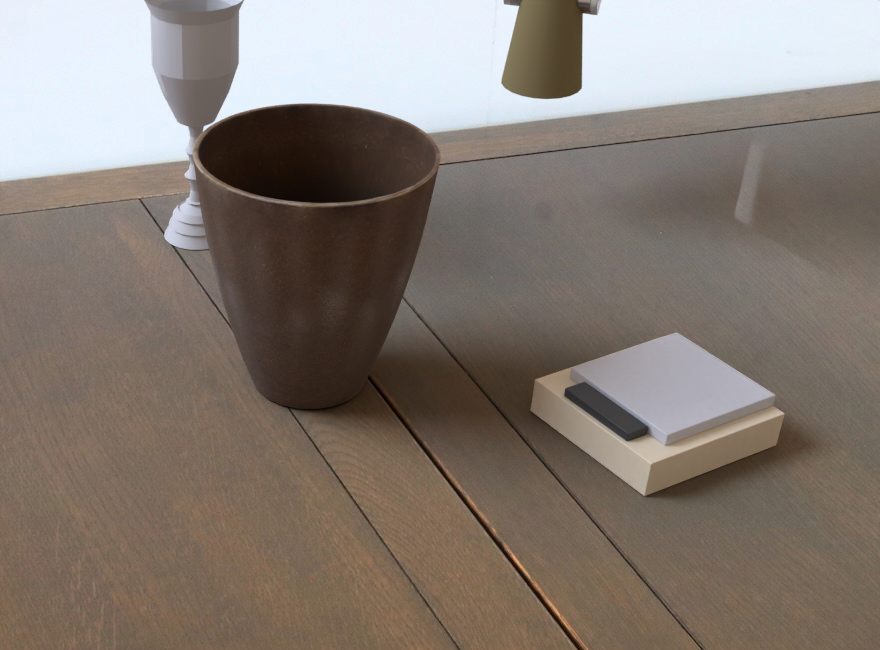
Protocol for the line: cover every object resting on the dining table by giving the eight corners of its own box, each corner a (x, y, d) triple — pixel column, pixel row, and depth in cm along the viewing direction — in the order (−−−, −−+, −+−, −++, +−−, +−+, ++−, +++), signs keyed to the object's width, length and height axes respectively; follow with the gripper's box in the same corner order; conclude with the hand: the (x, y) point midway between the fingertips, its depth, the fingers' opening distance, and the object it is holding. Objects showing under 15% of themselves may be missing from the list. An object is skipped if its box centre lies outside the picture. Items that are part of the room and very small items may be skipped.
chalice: (226, 208, 124) (226, -27, 112) (257, 246, 119) (261, 4, 108) (138, 223, 122) (129, -15, 110) (166, 261, 117) (160, 17, 106)
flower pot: (158, 353, 107) (151, 126, 97) (347, 305, 113) (359, 85, 102) (260, 465, 97) (265, 225, 87) (462, 406, 103) (489, 173, 92)
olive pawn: (574, 103, 115) (596, -54, 108) (493, 93, 116) (509, -63, 109) (588, 73, 119) (610, -80, 112) (509, 64, 121) (526, -88, 114)
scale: (657, 366, 107) (666, 324, 104) (776, 445, 99) (788, 402, 97) (529, 411, 102) (536, 368, 100) (644, 496, 95) (653, 452, 93)
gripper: (449, -214, 114) (405, -32, 113) (738, -191, 109) (693, 0, 108) (457, -163, 120) (416, 10, 119) (732, -138, 115) (689, 43, 114)
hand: (550, 6), depth 114 cm, fingers closed on olive pawn, 4 cm apart
